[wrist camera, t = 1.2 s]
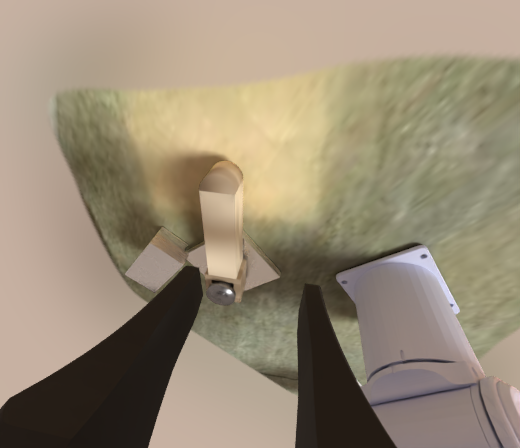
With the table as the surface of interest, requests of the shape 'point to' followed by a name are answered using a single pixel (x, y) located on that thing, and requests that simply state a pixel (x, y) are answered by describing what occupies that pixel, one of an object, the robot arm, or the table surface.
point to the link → (224, 225)
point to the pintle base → (256, 270)
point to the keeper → (159, 260)
